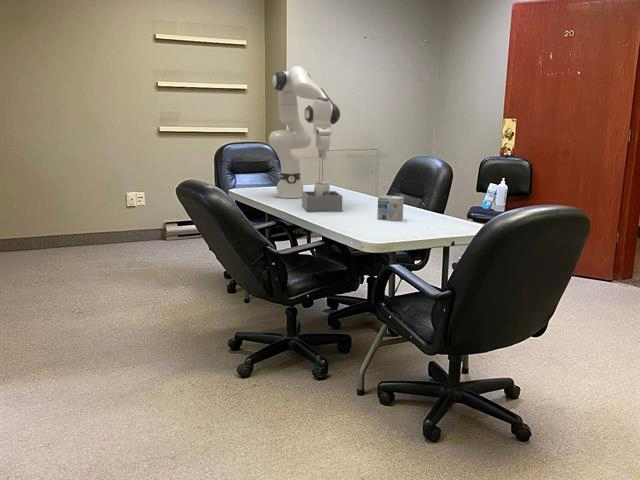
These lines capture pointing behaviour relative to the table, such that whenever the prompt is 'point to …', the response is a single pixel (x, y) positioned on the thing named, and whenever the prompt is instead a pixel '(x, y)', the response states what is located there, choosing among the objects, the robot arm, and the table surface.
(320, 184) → the syrup box
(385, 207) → the light bulb box
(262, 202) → the table surface
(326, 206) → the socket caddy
